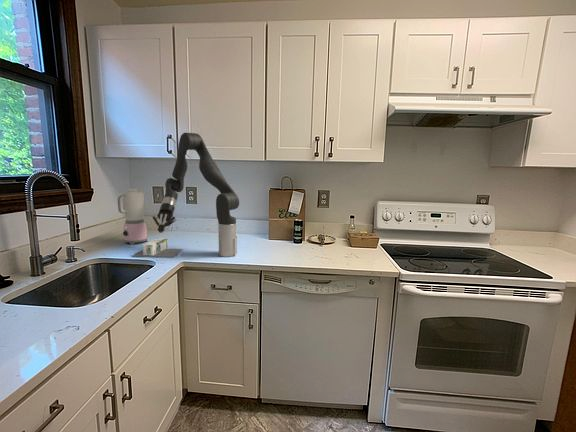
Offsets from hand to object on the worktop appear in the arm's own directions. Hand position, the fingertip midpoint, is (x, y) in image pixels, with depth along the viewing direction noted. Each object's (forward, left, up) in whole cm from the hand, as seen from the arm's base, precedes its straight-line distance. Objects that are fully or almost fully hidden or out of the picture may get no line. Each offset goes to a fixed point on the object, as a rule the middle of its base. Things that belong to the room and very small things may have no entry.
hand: (160, 231), depth 156 cm
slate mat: (0, +4, -11) cm, 11 cm away
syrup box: (+1, -5, -7) cm, 9 cm away
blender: (+23, -16, -11) cm, 30 cm away
